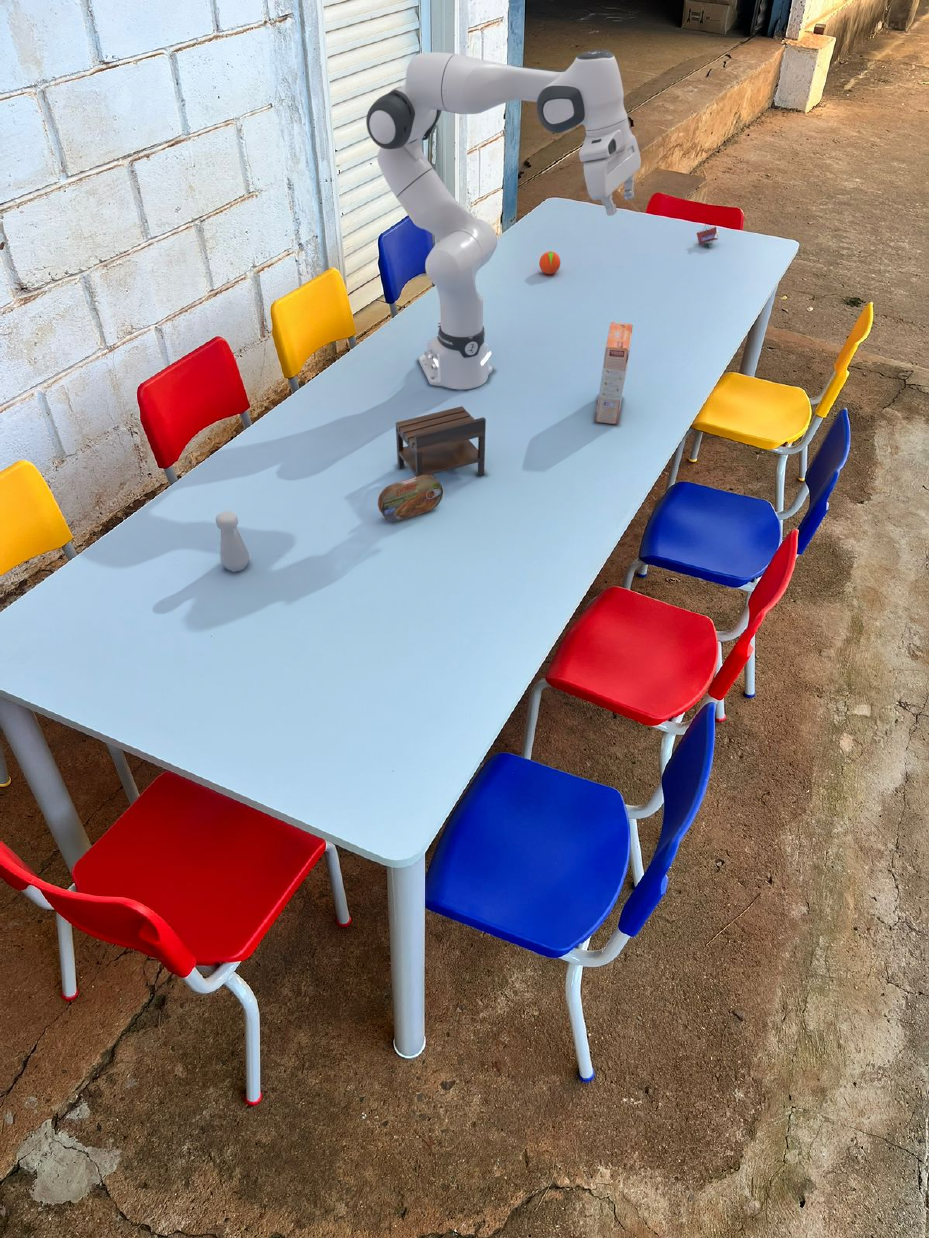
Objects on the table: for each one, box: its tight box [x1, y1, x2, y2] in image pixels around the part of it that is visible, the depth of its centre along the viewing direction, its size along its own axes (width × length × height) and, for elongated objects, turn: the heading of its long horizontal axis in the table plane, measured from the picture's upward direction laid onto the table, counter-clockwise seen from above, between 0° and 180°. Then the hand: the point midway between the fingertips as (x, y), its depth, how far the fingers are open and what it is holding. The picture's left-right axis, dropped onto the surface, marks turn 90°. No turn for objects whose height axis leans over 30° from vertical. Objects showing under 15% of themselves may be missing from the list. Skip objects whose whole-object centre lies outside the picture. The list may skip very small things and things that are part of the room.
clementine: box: [538, 251, 561, 275], centre depth 291 cm, size 8×7×7 cm
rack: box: [395, 406, 487, 477], centre depth 206 cm, size 12×17×15 cm
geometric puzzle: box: [696, 223, 720, 248], centre depth 310 cm, size 7×7×8 cm
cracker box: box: [595, 321, 633, 426], centre depth 225 cm, size 14×6×21 cm, turn 168°
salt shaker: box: [215, 510, 250, 573], centre depth 181 cm, size 6×6×13 cm
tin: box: [377, 475, 444, 522], centre depth 197 cm, size 15×3×8 cm, turn 117°
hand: (620, 206), depth 195 cm, fingers open, 8 cm apart
